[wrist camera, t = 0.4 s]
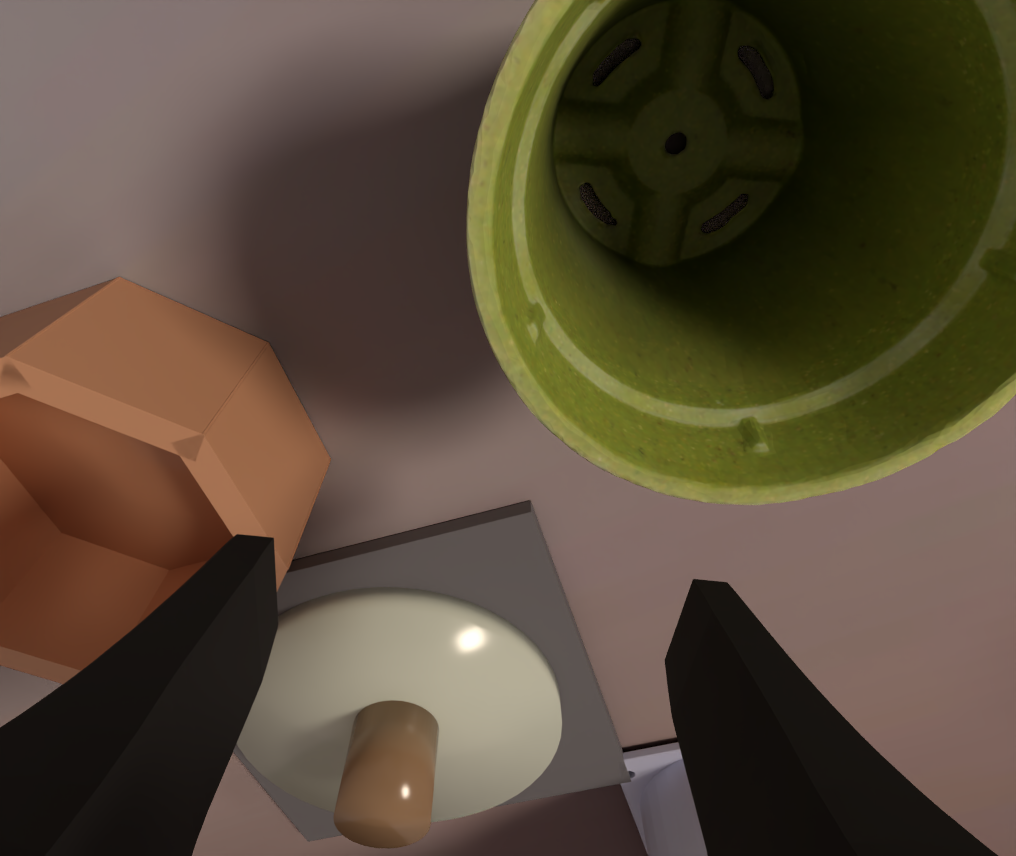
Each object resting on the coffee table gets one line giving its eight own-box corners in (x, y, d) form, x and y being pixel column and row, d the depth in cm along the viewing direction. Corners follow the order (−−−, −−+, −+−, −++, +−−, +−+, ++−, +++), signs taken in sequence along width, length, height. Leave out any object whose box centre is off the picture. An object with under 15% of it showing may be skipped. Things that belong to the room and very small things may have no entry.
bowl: (368, 529, 23) (337, 646, 19) (107, 595, 25) (24, 718, 21) (217, 243, 18) (129, 315, 14) (-98, 348, 20) (-263, 442, 16)
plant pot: (727, -227, 14) (990, -506, 6) (943, 147, 17) (1274, 253, 10) (402, 126, 17) (322, 217, 10) (640, 379, 21) (717, 590, 13)
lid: (594, 769, 29) (608, 885, 25) (321, 821, 31) (296, 936, 27) (504, 550, 23) (503, 658, 19) (172, 631, 25) (111, 745, 21)
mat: (629, 768, 30) (631, 781, 30) (311, 828, 32) (307, 841, 32) (530, 500, 23) (531, 512, 22) (127, 602, 25) (119, 615, 24)
